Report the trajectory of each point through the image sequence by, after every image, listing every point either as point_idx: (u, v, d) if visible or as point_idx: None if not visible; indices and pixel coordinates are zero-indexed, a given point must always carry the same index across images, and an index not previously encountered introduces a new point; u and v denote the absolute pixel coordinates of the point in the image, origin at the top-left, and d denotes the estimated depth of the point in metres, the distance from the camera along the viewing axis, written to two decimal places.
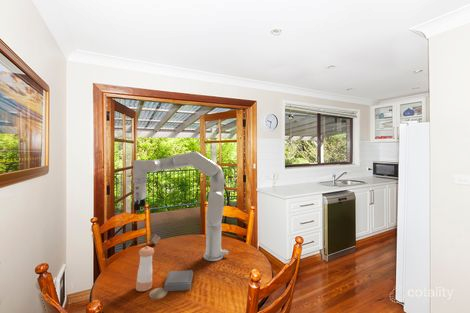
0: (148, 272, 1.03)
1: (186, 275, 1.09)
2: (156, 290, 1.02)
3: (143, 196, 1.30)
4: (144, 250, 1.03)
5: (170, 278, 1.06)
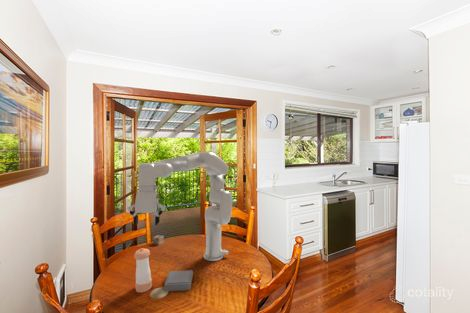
0: (146, 273, 1.01)
1: (186, 275, 1.09)
2: (157, 290, 1.02)
3: None
4: (139, 253, 1.01)
5: (170, 278, 1.06)
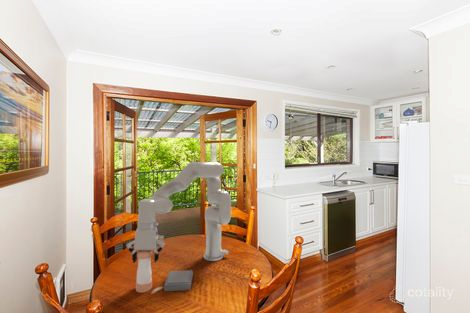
0: (147, 273, 1.02)
1: (186, 275, 1.09)
2: None
3: None
4: (141, 252, 1.01)
5: (170, 278, 1.06)
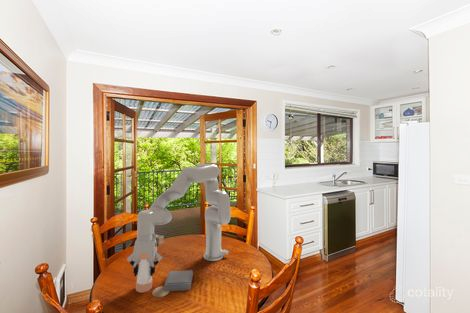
0: (147, 274, 1.01)
1: (186, 275, 1.09)
2: (159, 289, 1.03)
3: None
4: (143, 253, 1.01)
5: (170, 278, 1.06)
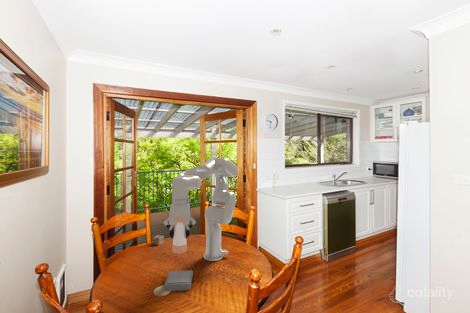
0: (183, 236, 1.06)
1: (186, 275, 1.09)
2: (161, 288, 1.04)
3: None
4: None
5: (170, 278, 1.06)
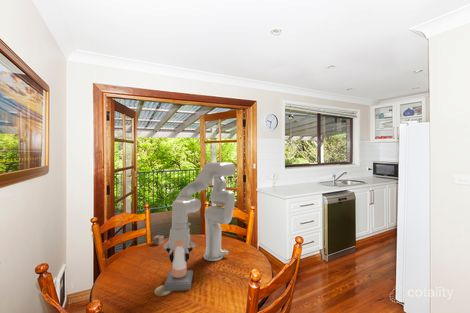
0: (183, 260, 1.06)
1: (186, 275, 1.09)
2: (161, 288, 1.04)
3: None
4: None
5: (170, 278, 1.06)
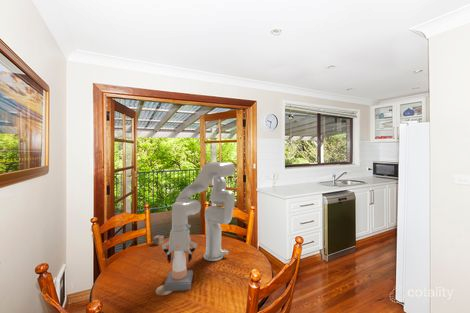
0: (182, 261, 1.07)
1: (186, 275, 1.09)
2: (163, 287, 1.04)
3: None
4: None
5: (170, 278, 1.06)
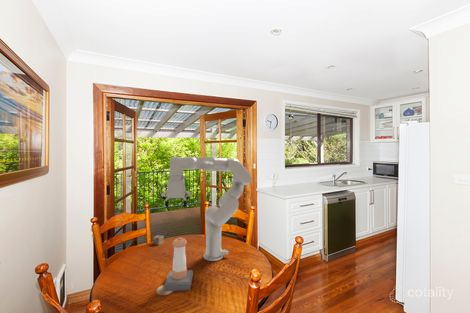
0: (182, 261, 1.07)
1: None
2: (163, 287, 1.04)
3: None
4: (177, 241, 1.07)
5: (170, 278, 1.06)
